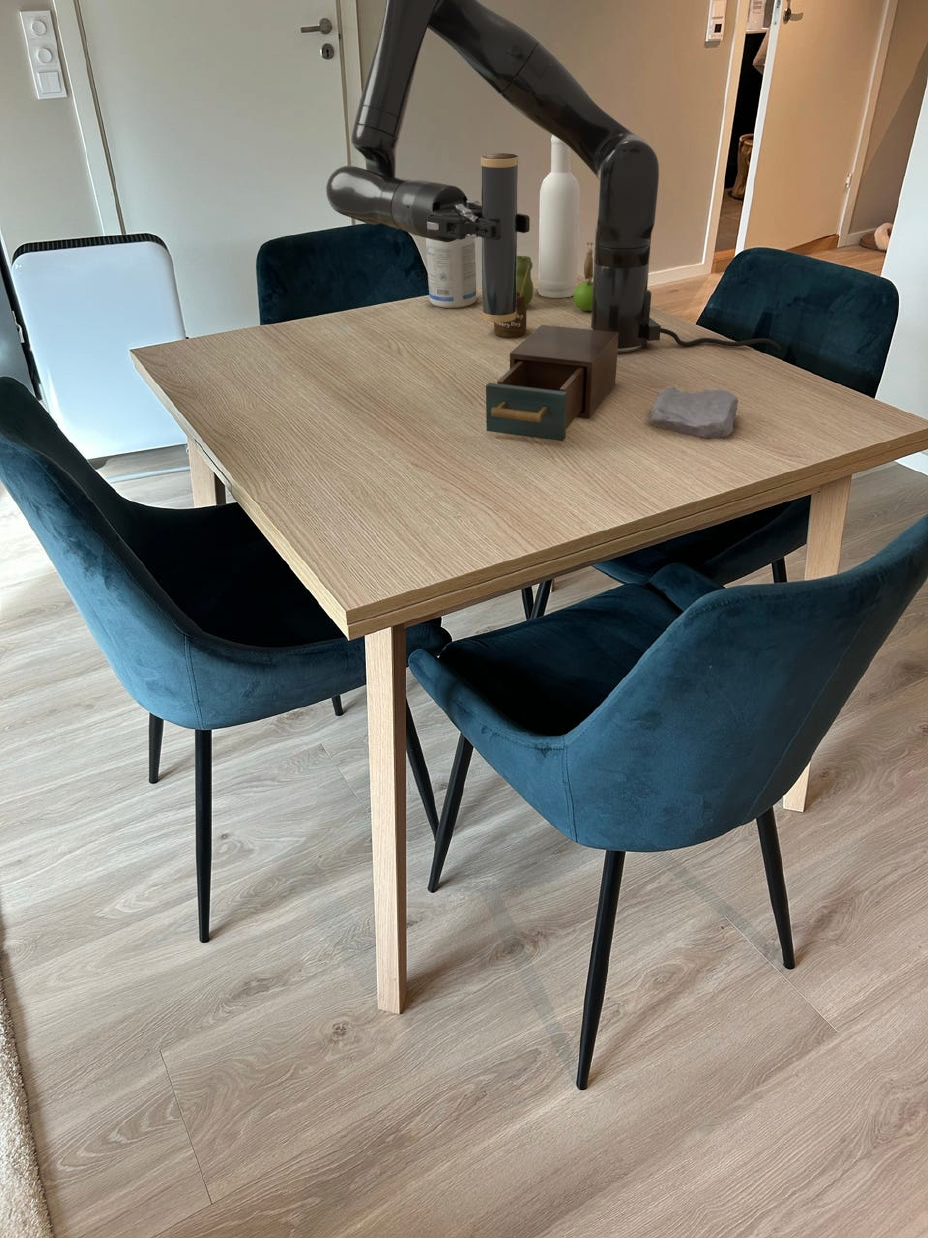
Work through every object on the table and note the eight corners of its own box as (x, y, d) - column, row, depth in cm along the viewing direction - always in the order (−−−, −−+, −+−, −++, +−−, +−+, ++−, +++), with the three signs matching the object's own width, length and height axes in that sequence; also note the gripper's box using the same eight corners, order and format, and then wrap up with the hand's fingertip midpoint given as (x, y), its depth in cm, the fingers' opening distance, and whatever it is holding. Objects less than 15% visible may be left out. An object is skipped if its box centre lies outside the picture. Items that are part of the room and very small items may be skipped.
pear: (501, 309, 191) (501, 256, 186) (510, 301, 195) (510, 250, 190) (528, 311, 190) (528, 258, 184) (537, 304, 194) (537, 251, 188)
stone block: (729, 451, 137) (738, 412, 143) (731, 422, 133) (740, 384, 140) (644, 445, 140) (657, 407, 147) (645, 416, 137) (658, 379, 144)
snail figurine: (600, 305, 192) (604, 241, 185) (601, 314, 187) (604, 249, 180) (573, 304, 193) (575, 241, 186) (572, 314, 187) (575, 249, 181)
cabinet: (589, 419, 144) (592, 362, 139) (509, 408, 148) (509, 353, 143) (615, 385, 155) (618, 331, 150) (540, 377, 159) (541, 324, 154)
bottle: (551, 285, 205) (554, 127, 188) (583, 291, 201) (590, 129, 184) (530, 295, 199) (532, 132, 183) (563, 300, 195) (568, 134, 179)
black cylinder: (511, 310, 141) (512, 152, 129) (520, 320, 137) (522, 158, 125) (478, 313, 140) (476, 154, 129) (486, 323, 136) (485, 160, 125)
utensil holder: (495, 328, 181) (495, 261, 175) (529, 328, 180) (530, 261, 174) (492, 338, 176) (491, 269, 170) (526, 338, 176) (527, 270, 169)
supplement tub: (467, 293, 201) (465, 218, 193) (483, 305, 194) (482, 227, 186) (422, 299, 199) (418, 223, 190) (437, 311, 191) (434, 232, 183)
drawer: (554, 452, 132) (555, 404, 128) (476, 441, 136) (475, 394, 132) (590, 407, 145) (592, 362, 141) (518, 398, 149) (518, 354, 145)
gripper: (389, 189, 135) (474, 206, 124) (465, 175, 143) (551, 189, 132) (393, 246, 139) (475, 266, 128) (466, 229, 147) (549, 247, 136)
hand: (513, 227), depth 130 cm, fingers closed on black cylinder, 5 cm apart
